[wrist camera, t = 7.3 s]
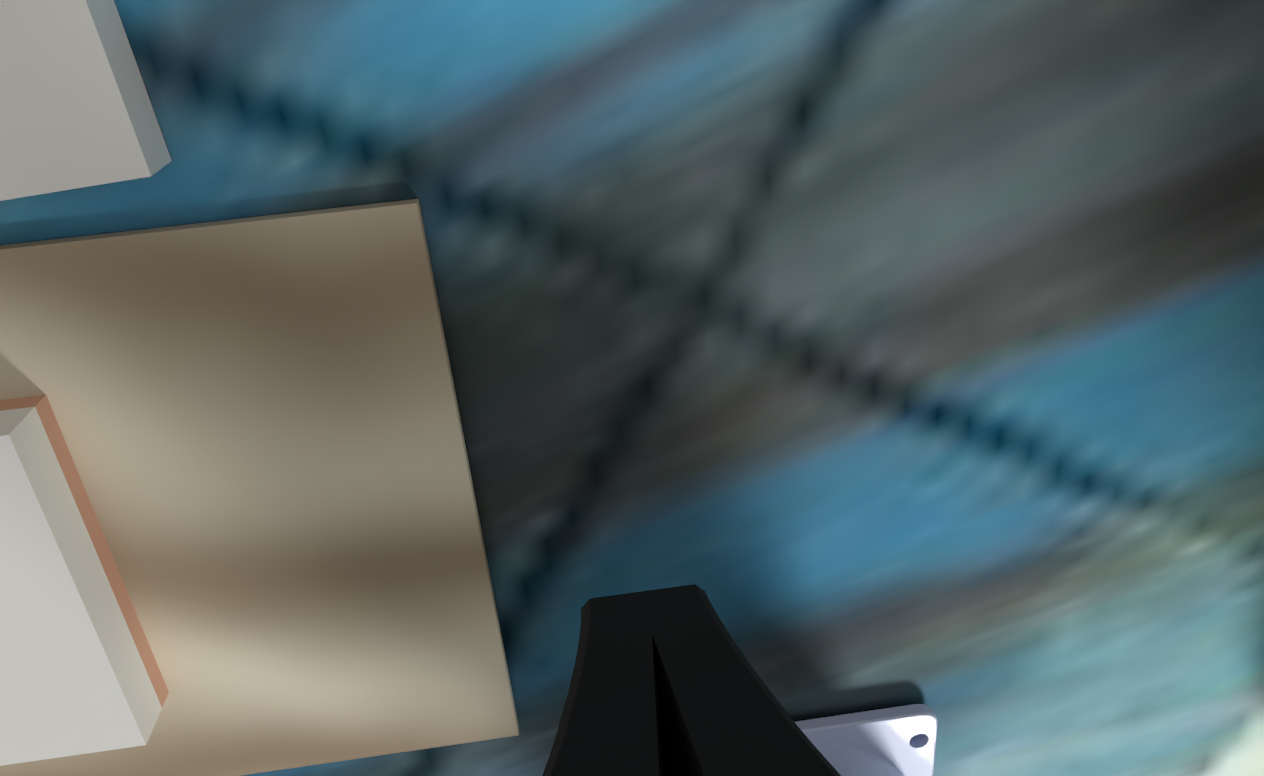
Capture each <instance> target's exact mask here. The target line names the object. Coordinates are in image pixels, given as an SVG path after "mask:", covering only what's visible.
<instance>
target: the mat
mask: <svg viewBox="0 0 1264 776" xmlns="http://www.w3.org/2000/svg"><path fill="white" fill-rule="evenodd" d="M40 395H46V396H47V398H48V401H49V403H50V405H51V408H52V410H53V413H54V415H55V418H56V420H57V422H58V425H59V427H60V430H61V432H62V434H63V437H64V439H65V442H66V444H67V447H68V449H69V451H70V454H71V456H72V459H73V461H74V464H75V466H76V468H77V471H78V473H79V476H80V478H81V481H82V483H83V485H84V488H85V490H86V493H87V495H88V497H89V500H90V502H91V505H92V507H93V510H94V512H95V514H96V517H97V519H98V522H99V524H100V527H101V529H102V531H103V534H104V536H105V539H106V541H107V543H108V546H109V548H110V551H111V553H112V556H113V558H114V560H115V563H116V565H117V568H118V570H119V573H120V575H121V577H122V580H123V582H124V585H125V587H126V590H127V592H128V594H129V597H130V599H131V602H132V604H133V606H134V609H135V611H136V614H137V616H138V619H139V621H140V623H141V626H142V628H143V631H144V633H145V636H146V638H147V640H148V643H149V645H150V648H151V650H152V652H153V655H154V657H155V660H156V662H157V665H158V667H159V669H160V672H161V674H162V677H163V679H164V682H165V684H166V686H167V689H168V691H169V693H168V696H167V698H166V700H165V703H164V705H163V707H162V710H161V712H160V714H159V717H158V719H157V721H156V724H155V726H154V728H153V730H152V733H151V735H150V737H149V740H148V742H147V744H146V745H144V746H136V747H129V748H122V749H115V750H108V751H101V752H94V753H87V754H80V755H73V756H66V757H59V758H52V759H45V760H38V761H31V762H24V763H17V764H9V765H2V766H0V776H240V775H247V774H254V773H261V772H268V771H275V770H282V769H289V768H296V767H302V766H309V765H316V764H323V763H330V762H337V761H344V760H351V759H358V758H365V757H372V756H379V755H386V754H393V753H399V752H406V751H413V750H420V749H427V748H434V747H441V746H448V745H455V744H462V743H469V742H476V741H483V740H490V739H496V738H503V737H510V736H517V735H519V725H518V719H517V714H516V709H515V704H514V698H513V693H512V688H511V682H510V677H509V672H508V667H507V661H506V656H505V651H504V646H503V640H502V635H501V630H500V625H499V619H498V614H497V609H496V603H495V598H494V593H493V588H492V582H491V577H490V572H489V567H488V561H487V556H486V551H485V546H484V540H483V535H482V530H481V525H480V519H479V514H478V509H477V503H476V498H475V493H474V488H473V482H472V477H471V472H470V467H469V461H468V456H467V451H466V446H465V440H464V435H463V430H462V424H461V419H460V414H459V409H458V403H457V398H456V393H455V388H454V382H453V377H452V372H451V367H450V361H449V356H448V351H447V346H446V340H445V335H444V330H443V324H442V319H441V314H440V309H439V303H438V298H437V293H436V288H435V282H434V277H433V272H432V267H431V261H430V256H429V251H428V245H427V240H426V235H425V230H424V224H423V219H422V214H421V209H420V203H419V199H411V200H402V201H393V202H384V203H375V204H366V205H357V206H348V207H339V208H330V209H321V210H312V211H303V212H294V213H285V214H276V215H267V216H258V217H249V218H240V219H231V220H222V221H213V222H204V223H195V224H186V225H177V226H168V227H159V228H151V229H142V230H133V231H124V232H115V233H106V234H97V235H88V236H79V237H70V238H61V239H52V240H43V241H34V242H25V243H16V244H7V245H0V400H6V399H15V398H23V397H31V396H40Z"/></svg>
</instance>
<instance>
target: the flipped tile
mask: <svg viewBox="0 0 1264 776" xmlns="http://www.w3.org/2000/svg"><path fill="white" fill-rule="evenodd" d="M171 161H172V159H171V157H170V154H169V151H168V148H167V146H166V143H165V140H164V137H163V135H162V132H161V129H160V126H159V124H158V121H157V118H156V115H155V112H154V110H153V107H152V104H151V101H150V99H149V96H148V93H147V90H146V88H145V85H144V82H143V79H142V77H141V74H140V71H139V68H138V66H137V63H136V60H135V57H134V54H133V52H132V49H131V46H130V43H129V41H128V38H127V35H126V32H125V30H124V27H123V24H122V21H121V19H120V16H119V13H118V10H117V8H116V5H115V2H114V0H0V201H3V200H9V199H15V198H21V197H27V196H33V195H40V194H46V193H52V192H58V191H64V190H71V189H77V188H83V187H89V186H95V185H101V184H108V183H114V182H120V181H126V180H132V179H138V178H145V177H151V176H153V175H154V174H155V173H156V172H158V171H159V170H160V169H162V168H163V167H164V166H166V165H167V164H168V163H170V162H171Z"/></svg>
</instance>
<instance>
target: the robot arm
mask: <svg viewBox="0 0 1264 776" xmlns="http://www.w3.org/2000/svg"><path fill="white" fill-rule="evenodd" d="M937 725H938V723H937V718H936V716H935V714H934V712H933V710H932V709H931V708H930V707H929V706H927V705H924V704H912V705H905V706H899V707H892V708H885V709H878V710H871V711H864V712H857V713H851V714H844V715H837V716H830V717H823V718H816V719H810V720H803V721H796V722H794V721H793V720H792V718H791V717H790V716H789V715H788V713H787V712H786V711H785V709H784V708H783V707H782V706H781V704H780V703H779V702H778V701H777V699H776V698H775V697H774V695H773V694H772V693H771V692H770V690H769V689H768V688H767V687H766V685H765V684H764V683H763V681H762V680H761V679H760V677H759V676H758V675H757V673H756V672H755V671H754V669H753V668H752V667H751V665H750V664H749V662H748V661H747V659H746V658H745V657H744V655H743V654H742V652H741V651H740V649H739V648H738V646H737V645H736V643H735V642H734V641H733V639H732V637H731V636H730V634H729V633H728V631H727V630H726V628H725V627H724V625H723V623H722V622H721V620H720V618H719V617H718V615H717V613H716V612H715V610H714V608H713V606H712V605H711V603H710V601H709V599H708V597H707V595H706V593H705V591H703V590H702V589H701V588H699V587H698V586H697V585H695V584H694V585H687V586H680V587H672V588H665V589H658V590H650V591H643V592H636V593H628V594H621V595H614V596H606V597H599V598H592V599H590V600H589V601H588V602H587V603H586V604H585V605H584V606H583V607H582V608H581V630H580V638H579V645H578V651H577V657H576V662H575V666H574V671H573V675H572V680H571V684H570V689H569V692H568V696H567V699H566V703H565V706H564V710H563V713H562V717H561V721H560V724H559V728H558V731H557V735H556V738H555V741H554V745H553V748H552V751H551V754H550V757H549V759H548V762H547V765H546V768H545V771H544V773H543V776H933V770H934V759H935V748H936V736H937ZM917 734H919V735H917ZM915 735H917V736H915ZM913 736H914V737H913Z"/></svg>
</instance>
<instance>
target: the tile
mask: <svg viewBox="0 0 1264 776" xmlns="http://www.w3.org/2000/svg"><path fill="white" fill-rule="evenodd" d="M168 693H169V691H168V689H167V686H166V684H165V682H164V679H163V677H162V674H161V672H160V669H159V667H158V665H157V662H156V660H155V657H154V655H153V652H152V650H151V648H150V645H149V643H148V640H147V638H146V636H145V633H144V631H143V628H142V626H141V623H140V621H139V619H138V616H137V614H136V611H135V609H134V606H133V604H132V602H131V599H130V597H129V594H128V592H127V590H126V587H125V585H124V582H123V580H122V577H121V575H120V573H119V570H118V568H117V565H116V563H115V560H114V558H113V556H112V553H111V551H110V548H109V546H108V543H107V541H106V539H105V536H104V534H103V531H102V529H101V527H100V524H99V522H98V519H97V517H96V514H95V512H94V510H93V507H92V505H91V502H90V500H89V497H88V495H87V493H86V490H85V488H84V485H83V483H82V481H81V478H80V476H79V473H78V471H77V468H76V466H75V464H74V461H73V459H72V456H71V454H70V451H69V449H68V447H67V444H66V442H65V439H64V437H63V434H62V432H61V430H60V427H59V425H58V422H57V420H56V418H55V415H54V413H53V410H52V408H51V405H50V403H49V401H48V398H47V396H46V395H40V396H31V397H23V398H15V399H6V400H0V766H2V765H9V764H17V763H24V762H31V761H38V760H45V759H52V758H59V757H66V756H73V755H80V754H87V753H94V752H101V751H108V750H115V749H122V748H129V747H136V746H144V745H146V744H147V742H148V740H149V737H150V735H151V733H152V730H153V728H154V726H155V724H156V721H157V719H158V717H159V714H160V712H161V710H162V707H163V705H164V703H165V700H166V698H167V696H168Z"/></svg>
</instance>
